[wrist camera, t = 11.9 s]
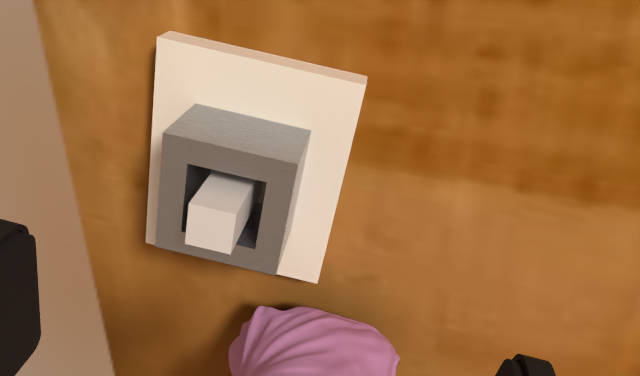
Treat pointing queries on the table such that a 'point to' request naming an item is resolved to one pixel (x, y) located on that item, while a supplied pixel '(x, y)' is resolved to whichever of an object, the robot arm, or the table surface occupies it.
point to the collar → (238, 159)
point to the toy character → (309, 345)
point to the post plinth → (266, 103)
